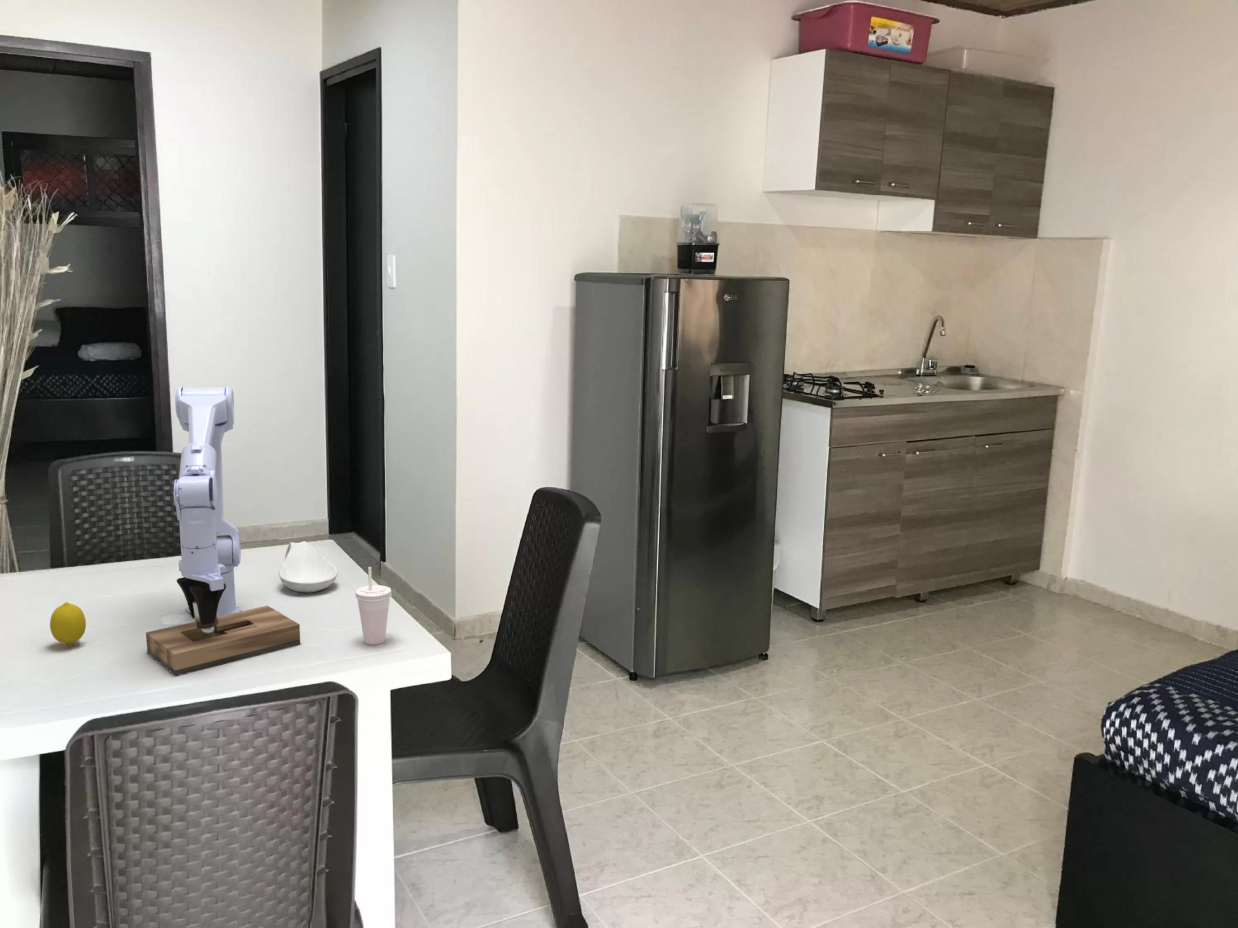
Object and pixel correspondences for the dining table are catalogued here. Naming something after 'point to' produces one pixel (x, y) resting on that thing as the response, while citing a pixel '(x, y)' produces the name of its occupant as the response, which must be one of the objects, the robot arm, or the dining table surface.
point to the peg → (207, 628)
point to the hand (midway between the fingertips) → (203, 619)
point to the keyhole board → (223, 640)
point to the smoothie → (373, 610)
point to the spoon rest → (306, 569)
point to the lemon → (67, 623)
